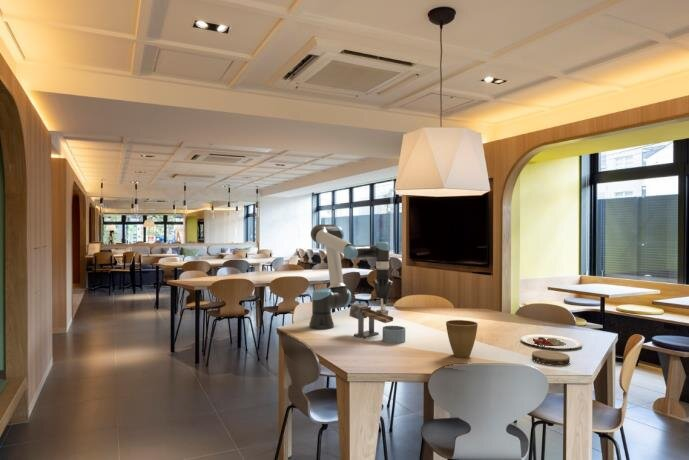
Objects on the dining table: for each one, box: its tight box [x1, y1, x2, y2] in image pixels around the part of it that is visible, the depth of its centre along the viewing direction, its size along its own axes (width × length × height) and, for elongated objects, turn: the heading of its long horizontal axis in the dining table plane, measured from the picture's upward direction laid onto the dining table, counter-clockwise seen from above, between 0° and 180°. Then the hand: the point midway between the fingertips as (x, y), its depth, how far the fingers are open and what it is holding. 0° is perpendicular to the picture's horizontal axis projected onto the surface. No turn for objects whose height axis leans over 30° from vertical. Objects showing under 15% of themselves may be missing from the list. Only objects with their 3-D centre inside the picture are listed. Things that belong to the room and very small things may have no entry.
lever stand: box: [353, 313, 380, 339], centre depth 260 cm, size 8×13×14 cm, turn 140°
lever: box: [348, 302, 394, 324], centre depth 260 cm, size 25×14×7 cm, turn 50°
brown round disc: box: [531, 349, 571, 366], centre depth 211 cm, size 16×16×3 cm
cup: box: [382, 325, 406, 345], centre depth 247 cm, size 12×12×7 cm
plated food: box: [520, 333, 583, 350], centre depth 244 cm, size 30×30×3 cm
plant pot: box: [445, 319, 479, 359], centre depth 219 cm, size 15×15×16 cm
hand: (383, 309), depth 261 cm, fingers closed
